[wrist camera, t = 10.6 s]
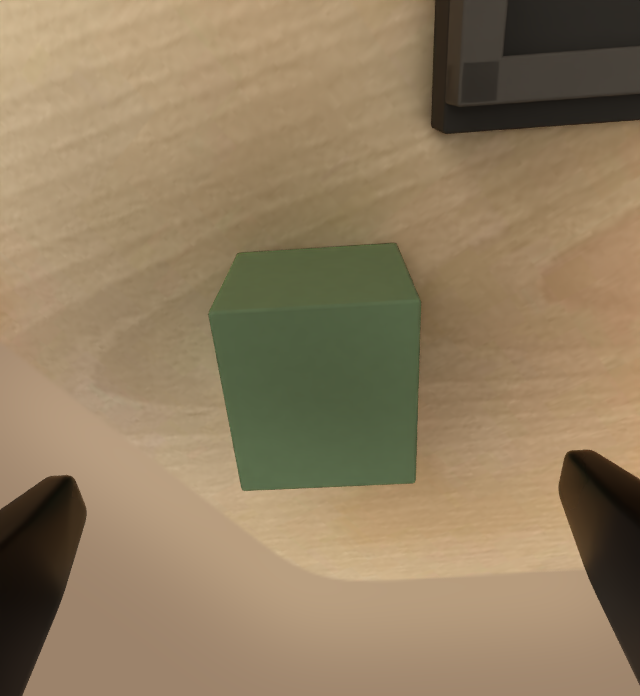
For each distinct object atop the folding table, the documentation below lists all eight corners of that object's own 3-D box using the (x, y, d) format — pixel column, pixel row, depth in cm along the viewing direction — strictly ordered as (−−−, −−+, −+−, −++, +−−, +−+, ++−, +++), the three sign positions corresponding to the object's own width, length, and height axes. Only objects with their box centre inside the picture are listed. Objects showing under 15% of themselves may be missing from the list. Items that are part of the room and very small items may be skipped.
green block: (259, 402, 16) (241, 492, 13) (236, 251, 14) (206, 312, 10) (396, 394, 16) (416, 484, 13) (396, 241, 14) (421, 299, 10)
